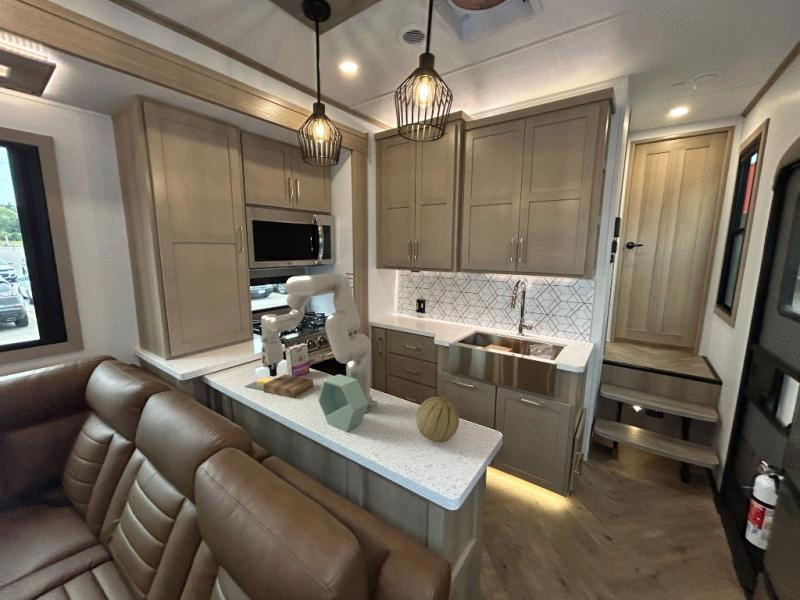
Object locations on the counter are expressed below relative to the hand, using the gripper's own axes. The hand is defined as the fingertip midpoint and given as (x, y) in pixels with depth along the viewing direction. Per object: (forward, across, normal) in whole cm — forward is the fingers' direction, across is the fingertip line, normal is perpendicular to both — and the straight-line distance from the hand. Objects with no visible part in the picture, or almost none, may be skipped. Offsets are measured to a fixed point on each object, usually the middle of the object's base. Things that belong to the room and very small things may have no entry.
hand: (273, 375), depth 161 cm
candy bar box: (+6, +17, -1) cm, 18 cm away
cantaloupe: (+6, -13, -89) cm, 90 cm away
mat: (+6, +1, +6) cm, 8 cm away
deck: (+6, 0, -10) cm, 11 cm away
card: (+5, 0, +4) cm, 7 cm away
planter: (+6, -17, -52) cm, 55 cm away
